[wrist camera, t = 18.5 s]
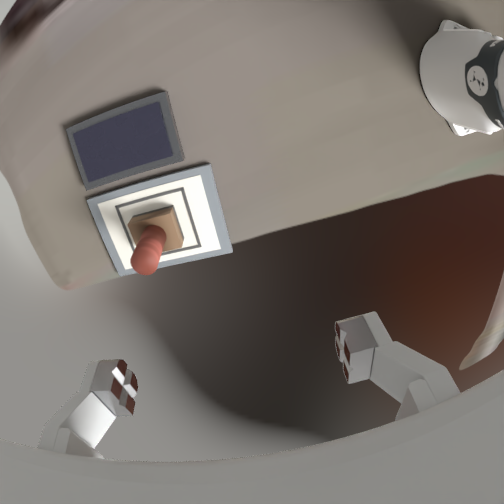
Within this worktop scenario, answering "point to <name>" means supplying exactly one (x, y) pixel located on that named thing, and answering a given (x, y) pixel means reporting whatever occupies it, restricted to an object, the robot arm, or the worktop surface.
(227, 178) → the worktop surface
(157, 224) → the stamp
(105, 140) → the ink pad
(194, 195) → the board
